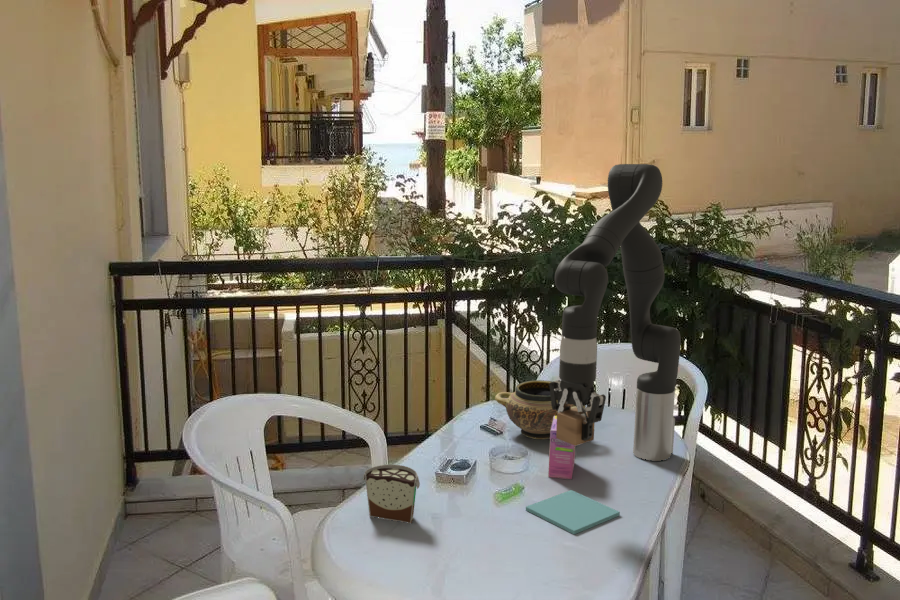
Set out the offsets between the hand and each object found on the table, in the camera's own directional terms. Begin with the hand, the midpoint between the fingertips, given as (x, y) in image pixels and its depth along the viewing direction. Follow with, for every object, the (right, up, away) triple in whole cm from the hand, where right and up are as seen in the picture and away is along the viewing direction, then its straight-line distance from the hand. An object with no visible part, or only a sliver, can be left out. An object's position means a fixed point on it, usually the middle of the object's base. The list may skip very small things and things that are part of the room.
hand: (575, 435), depth 178 cm
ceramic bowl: (-2, -8, +50) cm, 51 cm away
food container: (-38, -17, +2) cm, 41 cm away
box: (+1, -13, +26) cm, 29 cm away
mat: (0, -17, +3) cm, 17 cm away
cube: (0, -1, 0) cm, 1 cm away
